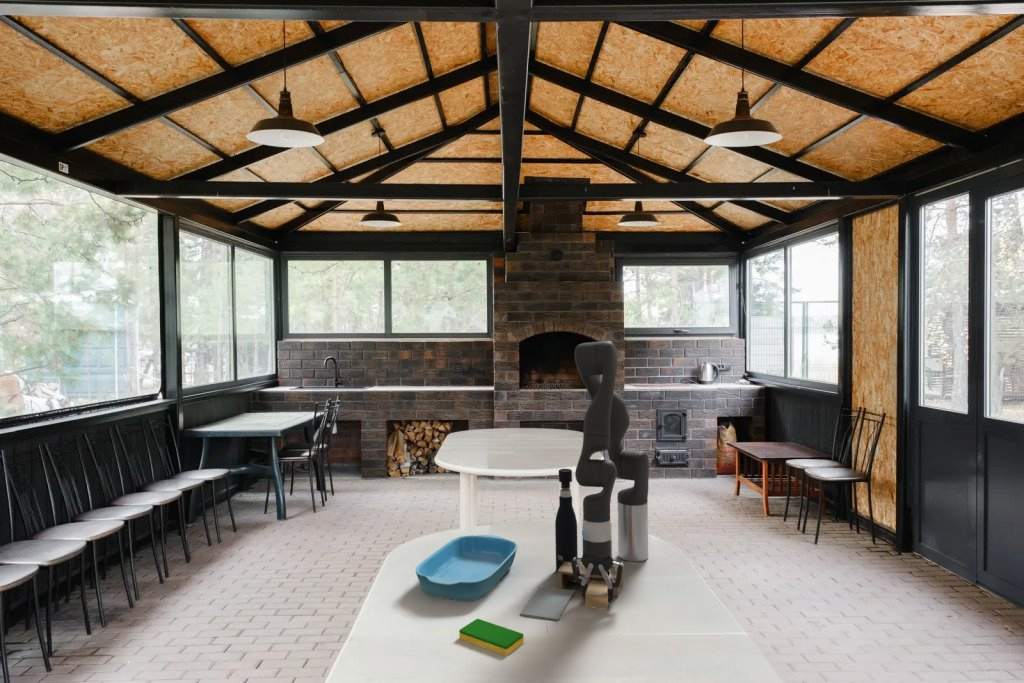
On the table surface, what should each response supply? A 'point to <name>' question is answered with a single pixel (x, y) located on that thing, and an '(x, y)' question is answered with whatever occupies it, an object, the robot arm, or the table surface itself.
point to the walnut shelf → (567, 575)
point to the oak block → (597, 593)
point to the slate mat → (547, 603)
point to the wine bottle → (565, 522)
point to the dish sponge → (491, 636)
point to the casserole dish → (466, 567)
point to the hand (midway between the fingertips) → (597, 599)
